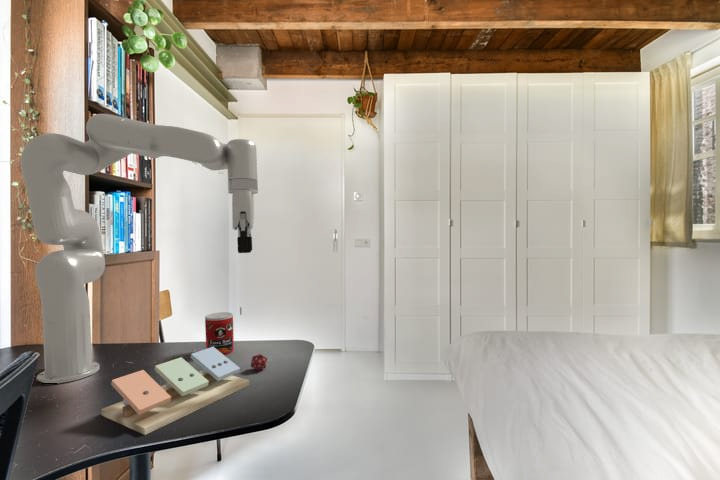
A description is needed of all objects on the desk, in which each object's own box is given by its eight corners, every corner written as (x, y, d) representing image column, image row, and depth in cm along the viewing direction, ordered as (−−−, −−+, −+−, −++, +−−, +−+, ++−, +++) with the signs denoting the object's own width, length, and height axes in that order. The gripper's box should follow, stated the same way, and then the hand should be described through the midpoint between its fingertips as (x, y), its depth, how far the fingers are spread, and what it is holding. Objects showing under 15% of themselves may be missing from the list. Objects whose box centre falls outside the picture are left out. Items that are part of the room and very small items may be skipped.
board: (101, 415, 74) (100, 400, 74) (206, 373, 95) (206, 361, 94) (144, 435, 66) (144, 418, 66) (249, 385, 87) (248, 372, 87)
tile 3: (189, 362, 88) (191, 353, 87) (211, 355, 93) (213, 346, 92) (216, 386, 83) (218, 376, 82) (237, 377, 88) (240, 367, 87)
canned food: (206, 358, 106) (205, 319, 106) (205, 350, 113) (204, 313, 113) (235, 354, 109) (234, 316, 109) (232, 346, 117) (231, 311, 116)
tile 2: (153, 375, 80) (155, 365, 80) (179, 366, 85) (181, 356, 85) (180, 402, 76) (183, 391, 75) (206, 390, 81) (209, 380, 80)
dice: (259, 366, 99) (258, 351, 99) (270, 369, 97) (270, 353, 96) (247, 370, 96) (247, 355, 96) (259, 374, 93) (258, 358, 93)
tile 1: (109, 390, 73) (112, 379, 72) (141, 379, 78) (143, 369, 78) (137, 421, 68) (139, 409, 68) (168, 407, 73) (171, 396, 73)
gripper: (231, 191, 108) (233, 250, 108) (224, 183, 91) (227, 254, 92) (258, 191, 110) (260, 249, 110) (257, 183, 93) (259, 253, 93)
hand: (245, 251), depth 101 cm, fingers open, 9 cm apart
